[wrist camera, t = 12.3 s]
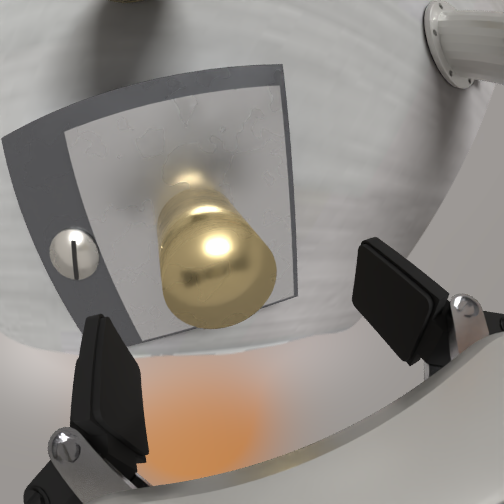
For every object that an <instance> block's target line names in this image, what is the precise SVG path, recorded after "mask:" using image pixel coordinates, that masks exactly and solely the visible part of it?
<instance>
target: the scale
mask: <svg viewBox="0 0 504 504" xmlns="http://www.w3.org/2000/svg"><path fill="white" fill-rule="evenodd" d="M279 85H280V94H281V103H282V113H283V123H284V134H285V146H286V158H287V171H288V184H289V199H290V216H291V235H292V257H293V284H294V296H291V297H288V298H285V299H282V300H280V301H277V302H273V303H270V304H267V305H264V306H262V307H261V308H264V307H267V306H270V305H273V304H276V303H279V302H282V301H285V300H288V299H291V298H294V297H297V296H298V284H297V248H296V224H295V204H294V186H293V171H292V157H291V144H290V132H289V121H288V110H287V100H286V91H285V81H284V73H283V64H272V65H250V66H237V67H226V68H217V69H209V70H202V71H195V72H189V73H183V74H177V75H172V76H167V77H162V78H158V79H153V80H149V81H145V82H141V83H137V84H133V85H129V86H125V87H122V88H118V89H115V90H112V91H109V92H105V93H102V94H99V95H96V96H93V97H90V98H88V99H85V100H82V101H79V102H77V103H74V104H72V105H69V106H67V107H64V108H62V109H59V110H57V111H55V112H52V113H50V114H48V115H46V116H43V117H41V118H39V119H37V120H35V121H33V122H31V123H29V124H27V125H25V126H23V127H21V128H19V129H17V130H15V131H13V132H12V133H10V134H8V135H6V136H4V137H3V138H1V139H2V144H3V149H4V153H5V158H6V162H7V166H8V170H9V173H10V177H11V180H12V184H13V187H14V191H15V194H16V197H17V200H18V203H19V206H20V209H21V212H22V214H23V217H24V220H25V222H26V225H27V228H28V230H29V233H30V235H31V237H32V240H33V242H34V245H35V247H36V249H37V251H38V254H39V256H40V258H41V260H42V262H43V264H44V267H45V269H46V271H47V273H48V275H49V277H50V279H51V281H52V283H53V284H54V286H55V288H56V290H57V292H58V294H59V296H60V297H61V299H62V301H63V303H64V305H65V306H66V308H67V310H68V311H69V313H70V315H71V316H72V318H73V320H74V321H75V323H76V325H77V326H78V328H79V329H80V331H81V332H82V334H83V330H84V325H85V320H86V318H87V317H89V316H93V315H97V314H103V315H104V317H109V318H110V320H111V321H112V323H113V325H114V327H115V328H116V330H117V332H118V334H119V335H120V337H121V339H122V340H123V342H124V344H125V345H126V347H127V346H131V345H135V344H139V343H143V342H147V341H151V340H155V339H158V338H162V337H166V336H170V335H174V334H177V333H181V332H184V331H188V330H192V329H195V328H198V327H192V328H189V329H185V330H181V331H178V332H174V333H170V334H167V335H163V336H159V337H155V338H151V339H148V340H144V341H142V339H141V337H140V335H139V334H138V332H137V330H136V328H135V326H134V324H133V322H132V320H131V318H130V316H129V314H128V312H127V310H126V308H125V306H124V304H123V302H122V300H121V298H120V296H119V294H118V291H117V289H116V287H115V285H114V283H113V280H112V278H111V276H110V273H109V271H108V269H107V266H106V264H105V262H104V259H103V257H102V254H101V252H100V249H99V247H98V244H97V241H96V239H95V236H94V233H93V231H92V228H91V225H90V222H89V219H88V217H87V214H86V211H85V208H84V204H83V201H82V198H81V195H80V192H79V188H78V185H77V181H76V178H75V174H74V171H73V167H72V163H71V159H70V155H69V151H68V147H67V142H66V138H65V133H64V132H65V131H68V130H70V129H73V128H75V127H78V126H81V125H83V124H86V123H89V122H92V121H95V120H98V119H101V118H104V117H107V116H110V115H113V114H116V113H120V112H123V111H126V110H130V109H134V108H137V107H141V106H145V105H149V104H153V103H157V102H162V101H166V100H171V99H176V98H181V97H186V96H191V95H197V94H203V93H209V92H216V91H223V90H231V89H240V88H250V87H263V86H279ZM261 308H260V309H261Z"/></svg>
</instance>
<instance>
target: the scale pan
mask: <svg viewBox="0 0 504 504" xmlns="http://www.w3.org/2000/svg"><path fill="white" fill-rule="evenodd" d="M64 133H65V138H66V142H67V147H68V151H69V155H70V159H71V163H72V167H73V171H74V174H75V178H76V181H77V185H78V188H79V192H80V195H81V198H82V201H83V204H84V208H85V211H86V214H87V217H88V219H89V222H90V225H91V228H92V231H93V233H94V236H95V239H96V241H97V244H98V247H99V249H100V252H101V254H102V257H103V259H104V262H105V264H106V266H107V269H108V271H109V273H110V276H111V278H112V280H113V283H114V285H115V287H116V289H117V291H118V294H119V296H120V298H121V300H122V302H123V304H124V306H125V308H126V310H127V312H128V314H129V316H130V318H131V320H132V322H133V324H134V326H135V328H136V330H137V332H138V334H139V335H140V337H141V339H142V341H144V340H148V339H151V338H155V337H159V336H163V335H167V334H170V333H174V332H178V331H181V330H185V329H189V328H192V327H194V326H191V325H189V324H186V323H184V322H183V321H181V320H180V319H178V318H177V317H176V316H175V315H174V314H173V313H172V312H171V311H170V309H169V308H168V306H167V304H166V302H165V300H164V296H163V290H162V281H161V272H160V262H159V251H158V238H157V222H158V217H159V215H160V212H161V210H162V208H163V207H164V206H165V204H166V203H167V202H168V201H169V200H170V199H171V198H172V197H173V196H175V195H176V194H178V193H180V192H182V191H184V190H187V189H191V188H208V189H212V190H215V191H217V192H219V193H221V194H222V195H223V196H225V197H226V198H227V199H228V200H229V201H230V202H231V204H232V205H233V206H234V207H235V208H236V210H237V211H238V212H239V213H240V214H241V215H242V217H243V218H244V219H245V220H246V221H247V222H248V224H249V225H250V226H251V227H252V228H253V230H254V231H255V232H256V233H257V234H258V236H259V237H260V238H261V239H262V240H263V241H264V243H265V244H266V245H267V246H268V248H269V249H270V250H271V252H272V254H273V256H274V259H275V262H276V267H277V276H276V282H275V286H274V288H273V291H272V293H271V295H270V297H269V298H268V300H267V301H266V302H265V304H264V305H267V304H270V303H273V302H277V301H280V300H282V299H285V298H288V297H291V296H294V284H293V257H292V235H291V216H290V199H289V184H288V171H287V158H286V146H285V134H284V123H283V113H282V103H281V94H280V85H279V86H263V87H250V88H240V89H231V90H223V91H216V92H209V93H203V94H197V95H191V96H186V97H181V98H176V99H171V100H166V101H162V102H157V103H153V104H149V105H145V106H141V107H137V108H134V109H130V110H126V111H123V112H120V113H116V114H113V115H110V116H107V117H104V118H101V119H98V120H95V121H92V122H89V123H86V124H83V125H81V126H78V127H75V128H73V129H70V130H68V131H65V132H64ZM264 305H263V306H264Z"/></svg>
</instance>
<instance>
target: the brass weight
mask: <svg viewBox="0 0 504 504" xmlns="http://www.w3.org/2000/svg"><path fill="white" fill-rule="evenodd" d="M157 238H158V251H159V262H160V272H161V281H162V290H163V296H164V300H165V302H166V304H167V306H168V308H169V309H170V311H171V312H172V313H173V314H174V315H175V316H176V317H177V318H178V319H180V320H181V321H183V322H184V323H186V324H189V325H191V326H194V327H198V328H204V329H218V328H225V327H229V326H232V325H235V324H238V323H240V322H242V321H244V320H246V319H247V318H249V317H250V316H252V315H253V314H255V313H256V312H257V311H258V310H259V309H260V308H261V307H262V306H263V305H264V304H265V302H266V301H267V300H268V298H269V297H270V295H271V293H272V291H273V288H274V286H275V282H276V276H277V267H276V262H275V259H274V256H273V254H272V252H271V250H270V249H269V248H268V246H267V245H266V244H265V243H264V241H263V240H262V239H261V238H260V237H259V236H258V234H257V233H256V232H255V231H254V230H253V228H252V227H251V226H250V225H249V224H248V222H247V221H246V220H245V219H244V218H243V217H242V215H241V214H240V213H239V212H238V211H237V210H236V208H235V207H234V206H233V205H232V204H231V202H230V201H229V200H228V199H227V198H226V197H225V196H223V195H222V194H221V193H219V192H217V191H215V190H212V189H208V188H191V189H187V190H184V191H182V192H180V193H178V194H176V195H175V196H173V197H172V198H171V199H170V200H169V201H168V202H167V203H166V204H165V206H164V207H163V208H162V210H161V212H160V215H159V217H158V222H157Z"/></svg>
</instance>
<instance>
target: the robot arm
mask: <svg viewBox="0 0 504 504" xmlns="http://www.w3.org/2000/svg"><path fill="white" fill-rule="evenodd" d="M424 26H425V33H426V37H427V42H428V45H429V48H430V52H431V54H432V56H433V59H434V61H435V63H436V65H437V67H438V69H439V71H440V72H441V74H442V75H443V77H444V78H445V79H446V80H447V81H448V82H449V83H450V84H451V85H452V86H454V87H456V88H462V89H466V88H468V87H470V86H471V85H472V84H473V82H474V80H475V79H476V80H482V81H487V82H492V83H498V84H502V85H504V12H496V11H472V10H463V11H457V10H456V9H455V8H454V7H453V6H452V5H450V4H449V3H447V2H445V1H441V0H440V1H433V2H431V3H429V5H428V6H427V8H426V10H425V16H424ZM448 296H449V293H448V292H447V291H446V290H444V289H443V288H442V287H441V286H440V285H438V284H437V283H436V282H435V281H433V280H432V279H431V278H430V277H428V276H427V275H426V274H425V273H423V272H422V271H421V270H420V269H418V268H417V267H416V266H415V265H413V264H412V263H411V262H409V261H408V260H407V259H406V258H404V257H403V256H402V255H400V254H399V253H398V252H396V251H395V250H394V249H392V248H391V247H390V246H388V245H387V244H385V243H384V242H383V241H381V240H380V239H379V238H377V237H373V238H370V239H367V240H364V241H362V243H361V246H359V249H358V257H357V266H356V274H355V281H354V288H353V295H352V302H353V304H354V306H355V308H356V309H357V310H358V311H359V312H360V313H361V314H362V315H363V316H364V318H365V319H366V320H367V321H368V322H369V323H370V324H371V325H372V326H373V328H374V329H375V330H376V331H377V332H378V333H379V334H380V336H381V337H382V338H383V339H384V340H385V341H386V342H387V344H388V345H389V346H390V347H391V348H392V349H393V351H394V352H395V353H396V354H397V355H398V356H399V358H400V359H401V360H403V361H406V362H407V363H408V364H409V366H411V365H413V364H414V363H416V362H417V361H419V360H420V358H422V359H423V360H424V382H422V383H421V384H420V385H418V386H417V387H415V388H414V389H412V390H411V391H409V392H408V393H406V394H405V395H403V396H402V397H400V398H398V399H397V400H395V401H394V402H392V403H390V404H389V405H387V406H385V407H384V408H382V409H380V410H379V411H377V412H375V413H374V414H372V415H370V416H368V417H366V418H364V419H363V420H361V421H359V422H357V423H355V424H353V425H351V426H349V427H347V428H345V429H343V430H341V431H339V432H337V433H335V434H333V435H331V436H329V437H327V438H324V439H322V440H320V441H317V442H315V443H313V444H310V445H308V446H306V447H303V448H301V449H298V450H296V451H293V452H290V453H288V454H285V455H282V456H279V457H277V458H274V459H271V460H268V461H265V462H262V463H258V464H255V465H252V466H249V467H245V468H242V469H238V470H235V471H231V472H226V473H223V474H218V475H214V476H209V477H204V478H200V479H195V480H190V481H185V482H179V483H173V484H166V485H158V486H152V485H151V484H150V483H148V482H147V481H146V480H145V479H144V478H143V477H141V476H140V475H139V474H138V473H137V465H136V463H146V457H145V455H148V454H149V448H148V442H147V434H146V427H145V419H144V410H143V399H142V388H141V374H140V369H139V366H138V364H137V363H136V361H135V359H134V358H133V356H132V355H131V353H130V352H129V350H128V348H127V347H126V345H125V344H124V342H123V340H122V339H121V337H120V335H119V334H118V332H117V330H116V328H115V327H114V325H113V323H112V321H111V320H110V318H109V317H104V315H103V314H97V315H93V316H89V317H87V318H86V320H85V325H84V330H83V336H82V342H81V348H80V354H79V358H78V359H77V362H76V366H75V374H74V382H73V392H72V402H71V416H70V427H63V428H60V429H58V430H57V431H55V432H54V433H53V435H52V436H51V437H50V440H49V442H48V454H49V457H50V459H51V460H50V461H49V462H48V463H47V464H46V466H45V467H44V468H43V469H42V470H41V472H39V474H38V475H37V476H36V477H35V478H34V479H33V480H32V482H31V483H30V484H29V485H28V486H27V488H26V490H25V492H24V504H504V314H499V313H493V312H487V311H483V310H482V307H481V305H480V303H479V302H478V301H477V300H476V299H475V298H473V297H472V296H470V295H467V294H456V295H454V296H453V297H452V299H451V301H450V302H449V301H448V300H447V298H448Z"/></svg>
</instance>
